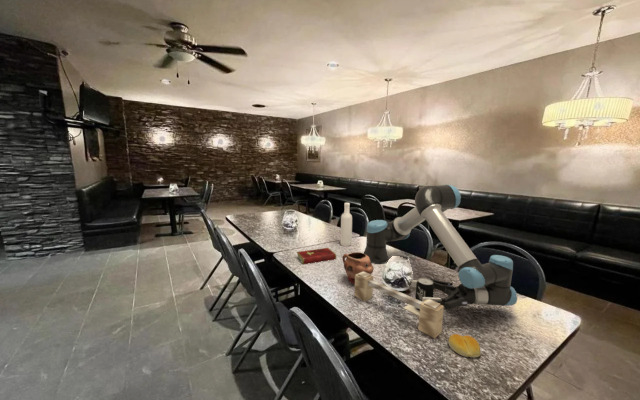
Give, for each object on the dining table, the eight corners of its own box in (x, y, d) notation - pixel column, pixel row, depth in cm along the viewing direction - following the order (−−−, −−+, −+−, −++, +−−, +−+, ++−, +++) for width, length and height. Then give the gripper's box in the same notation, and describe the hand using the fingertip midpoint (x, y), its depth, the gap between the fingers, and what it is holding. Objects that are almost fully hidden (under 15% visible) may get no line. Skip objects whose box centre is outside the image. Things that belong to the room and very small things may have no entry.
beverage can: (433, 314, 100) (436, 285, 99) (416, 312, 102) (418, 283, 100) (430, 305, 107) (432, 278, 105) (413, 303, 108) (415, 276, 106)
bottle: (340, 242, 187) (341, 201, 182) (351, 242, 186) (352, 202, 182) (340, 246, 179) (341, 203, 174) (351, 246, 179) (353, 204, 174)
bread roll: (445, 338, 88) (446, 327, 87) (474, 343, 86) (476, 332, 85) (451, 355, 80) (452, 344, 79) (484, 361, 78) (485, 349, 77)
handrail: (354, 296, 114) (355, 273, 112) (361, 292, 117) (362, 270, 115) (434, 338, 87) (437, 309, 86) (441, 332, 91) (443, 304, 89)
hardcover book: (336, 260, 155) (336, 253, 155) (303, 265, 147) (303, 258, 146) (327, 253, 166) (327, 247, 165) (296, 258, 158) (296, 251, 157)
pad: (403, 308, 105) (403, 307, 105) (417, 299, 112) (417, 298, 112) (430, 321, 97) (430, 320, 97) (442, 310, 104) (442, 309, 104)
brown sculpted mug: (333, 277, 131) (333, 251, 129) (348, 271, 139) (349, 246, 137) (364, 292, 117) (365, 263, 115) (379, 284, 125) (381, 257, 123)
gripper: (488, 322, 90) (427, 319, 91) (456, 287, 115) (408, 285, 116) (491, 302, 89) (428, 299, 90) (457, 271, 114) (409, 269, 115)
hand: (417, 291), depth 103 cm, fingers open, 13 cm apart
